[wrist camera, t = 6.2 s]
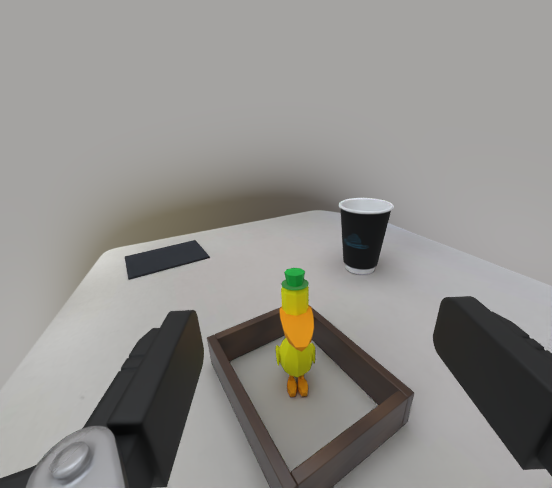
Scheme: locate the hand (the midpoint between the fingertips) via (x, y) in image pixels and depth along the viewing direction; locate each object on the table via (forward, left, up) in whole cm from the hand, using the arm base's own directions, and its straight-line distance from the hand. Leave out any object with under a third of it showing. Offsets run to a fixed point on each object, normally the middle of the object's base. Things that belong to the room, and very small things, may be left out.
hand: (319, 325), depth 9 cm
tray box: (+5, +9, -16) cm, 19 cm away
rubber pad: (0, +46, -16) cm, 49 cm away
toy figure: (+5, +9, -16) cm, 19 cm away
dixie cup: (+27, +22, -16) cm, 38 cm away
